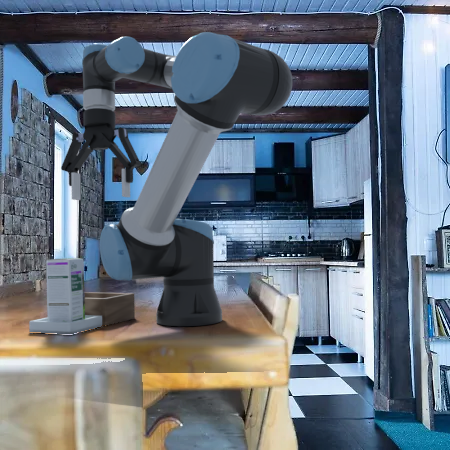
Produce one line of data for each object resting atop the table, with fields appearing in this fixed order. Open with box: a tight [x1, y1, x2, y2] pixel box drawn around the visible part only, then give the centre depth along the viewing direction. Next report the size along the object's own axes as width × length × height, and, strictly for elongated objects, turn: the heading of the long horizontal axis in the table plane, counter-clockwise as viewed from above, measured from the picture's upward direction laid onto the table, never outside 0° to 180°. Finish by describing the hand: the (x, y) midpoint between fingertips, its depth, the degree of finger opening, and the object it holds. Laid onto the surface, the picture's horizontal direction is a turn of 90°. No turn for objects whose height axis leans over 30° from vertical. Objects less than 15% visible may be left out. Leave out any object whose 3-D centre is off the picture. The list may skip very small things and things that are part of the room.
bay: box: [84, 291, 136, 326], centre depth 119 cm, size 14×12×6 cm
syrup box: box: [45, 257, 85, 322], centre depth 107 cm, size 6×6×14 cm
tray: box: [28, 315, 103, 334], centre depth 106 cm, size 10×10×2 cm
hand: (100, 198), depth 120 cm, fingers open, 13 cm apart
